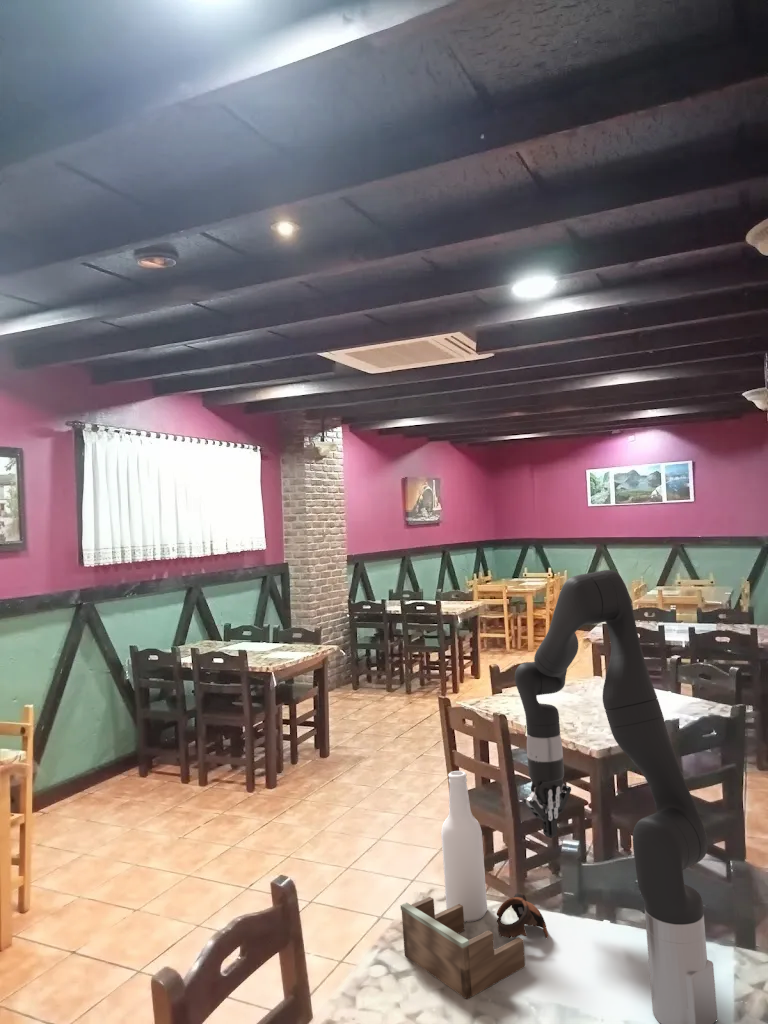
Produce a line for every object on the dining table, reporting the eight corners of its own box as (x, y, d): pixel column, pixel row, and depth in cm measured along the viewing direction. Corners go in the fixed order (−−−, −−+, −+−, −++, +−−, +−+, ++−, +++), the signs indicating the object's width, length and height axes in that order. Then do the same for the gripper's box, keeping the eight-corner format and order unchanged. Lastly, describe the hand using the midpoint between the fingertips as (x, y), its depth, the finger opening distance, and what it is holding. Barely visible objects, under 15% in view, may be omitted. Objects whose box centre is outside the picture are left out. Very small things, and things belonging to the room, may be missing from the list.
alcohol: (473, 927, 154) (463, 782, 155) (438, 916, 160) (429, 776, 160) (495, 909, 161) (485, 770, 162) (461, 898, 166) (451, 764, 167)
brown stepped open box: (525, 966, 139) (521, 913, 139) (466, 999, 130) (462, 943, 131) (460, 928, 154) (457, 880, 154) (403, 955, 145) (400, 905, 146)
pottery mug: (555, 949, 145) (535, 918, 144) (513, 968, 147) (492, 938, 145) (545, 903, 157) (526, 874, 155) (506, 922, 158) (486, 893, 157)
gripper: (536, 765, 152) (542, 850, 151) (579, 751, 159) (584, 832, 159) (510, 758, 158) (516, 839, 157) (552, 744, 166) (558, 822, 165)
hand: (550, 835), depth 158 cm, fingers closed
